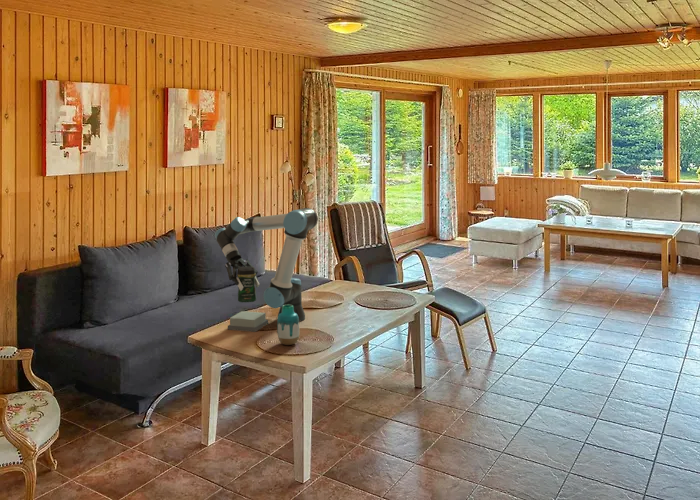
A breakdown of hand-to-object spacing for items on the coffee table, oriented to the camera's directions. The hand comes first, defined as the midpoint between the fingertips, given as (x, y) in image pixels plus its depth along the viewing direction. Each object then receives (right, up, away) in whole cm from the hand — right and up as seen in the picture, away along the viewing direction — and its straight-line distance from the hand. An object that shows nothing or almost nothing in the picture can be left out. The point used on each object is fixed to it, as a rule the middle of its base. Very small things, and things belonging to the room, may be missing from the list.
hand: (250, 287), depth 335 cm
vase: (+22, -26, -24) cm, 42 cm away
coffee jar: (-2, -8, +4) cm, 9 cm away
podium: (-2, -21, +6) cm, 22 cm away
